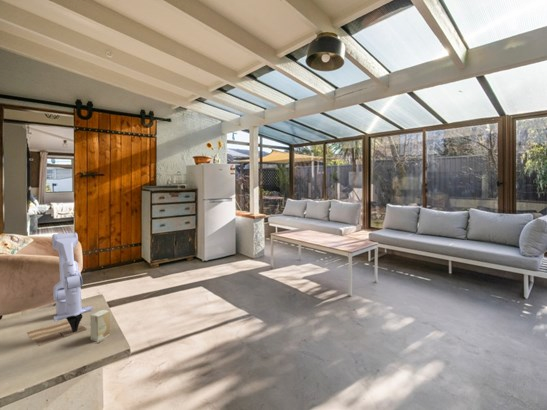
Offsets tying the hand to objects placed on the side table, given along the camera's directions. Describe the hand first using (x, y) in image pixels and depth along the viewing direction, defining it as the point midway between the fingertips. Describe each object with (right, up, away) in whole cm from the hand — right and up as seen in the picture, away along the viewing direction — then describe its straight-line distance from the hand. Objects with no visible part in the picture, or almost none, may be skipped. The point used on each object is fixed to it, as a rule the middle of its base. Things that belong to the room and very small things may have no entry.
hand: (74, 331), depth 129 cm
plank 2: (-2, -1, +2) cm, 3 cm away
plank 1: (-7, -2, -5) cm, 9 cm away
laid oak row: (-12, -1, +4) cm, 12 cm away
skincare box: (+14, -3, -3) cm, 14 cm away
